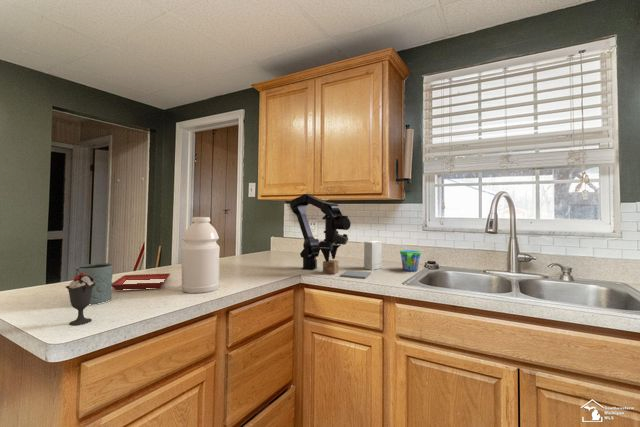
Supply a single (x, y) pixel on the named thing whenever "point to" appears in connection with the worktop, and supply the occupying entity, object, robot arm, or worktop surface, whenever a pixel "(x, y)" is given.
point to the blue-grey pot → (99, 280)
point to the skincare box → (372, 255)
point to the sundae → (80, 296)
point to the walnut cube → (330, 267)
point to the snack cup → (410, 259)
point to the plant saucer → (120, 286)
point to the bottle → (200, 257)
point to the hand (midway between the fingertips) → (330, 260)
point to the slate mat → (355, 274)
